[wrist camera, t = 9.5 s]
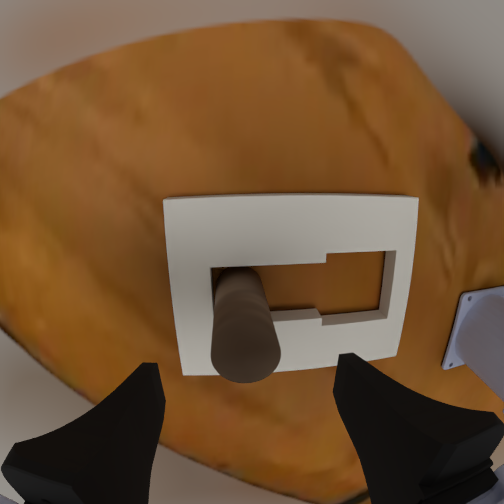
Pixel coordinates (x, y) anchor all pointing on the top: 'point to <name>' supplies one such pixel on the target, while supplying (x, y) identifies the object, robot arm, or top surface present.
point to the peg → (243, 328)
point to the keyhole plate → (289, 252)
